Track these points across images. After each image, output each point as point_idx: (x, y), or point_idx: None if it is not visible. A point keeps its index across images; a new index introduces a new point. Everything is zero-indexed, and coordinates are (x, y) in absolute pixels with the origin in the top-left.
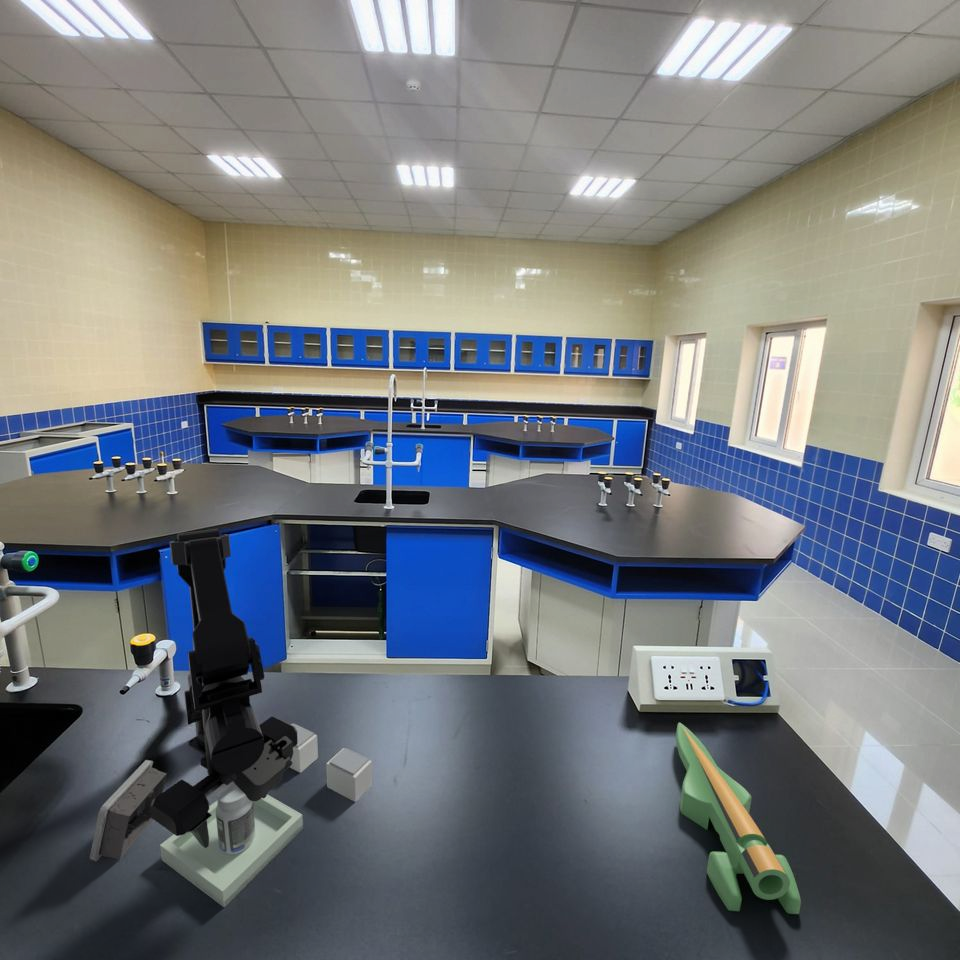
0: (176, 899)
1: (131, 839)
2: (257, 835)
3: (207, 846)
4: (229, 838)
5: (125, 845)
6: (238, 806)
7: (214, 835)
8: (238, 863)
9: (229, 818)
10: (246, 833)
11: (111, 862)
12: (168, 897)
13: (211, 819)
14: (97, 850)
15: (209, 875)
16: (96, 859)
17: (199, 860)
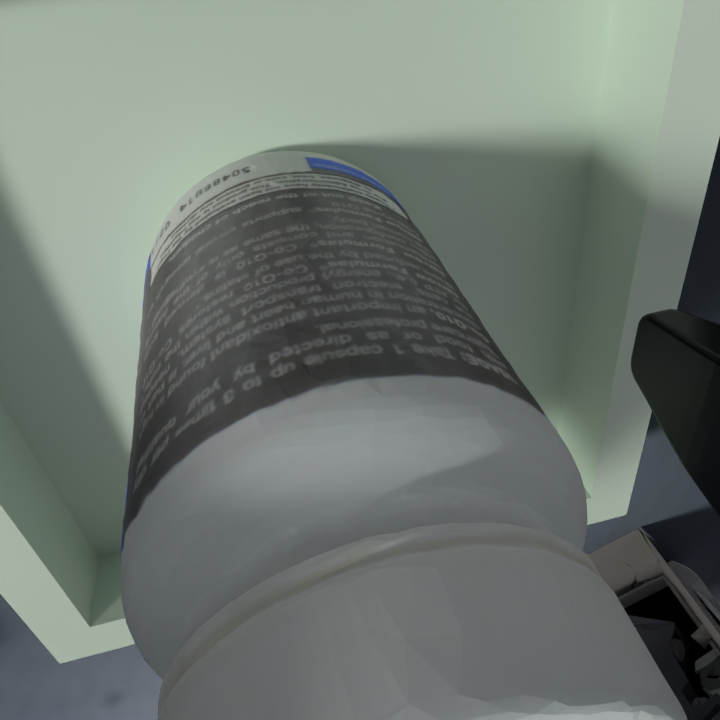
0: (713, 177)
1: None
2: (145, 207)
3: (661, 313)
4: (450, 275)
5: None
6: (483, 552)
7: None
8: (397, 70)
9: (552, 440)
10: (298, 214)
11: (656, 533)
12: (715, 224)
13: None
14: (713, 605)
15: (702, 83)
16: (683, 569)
17: (526, 311)
